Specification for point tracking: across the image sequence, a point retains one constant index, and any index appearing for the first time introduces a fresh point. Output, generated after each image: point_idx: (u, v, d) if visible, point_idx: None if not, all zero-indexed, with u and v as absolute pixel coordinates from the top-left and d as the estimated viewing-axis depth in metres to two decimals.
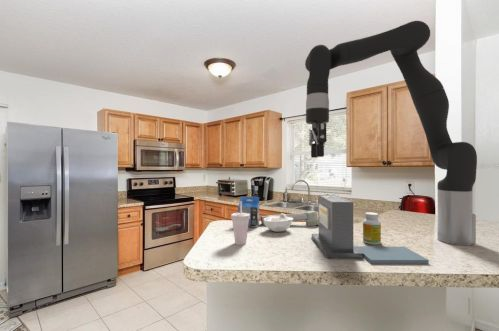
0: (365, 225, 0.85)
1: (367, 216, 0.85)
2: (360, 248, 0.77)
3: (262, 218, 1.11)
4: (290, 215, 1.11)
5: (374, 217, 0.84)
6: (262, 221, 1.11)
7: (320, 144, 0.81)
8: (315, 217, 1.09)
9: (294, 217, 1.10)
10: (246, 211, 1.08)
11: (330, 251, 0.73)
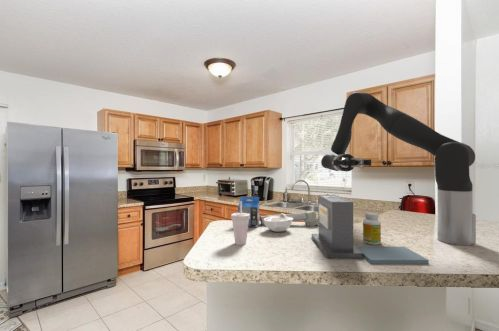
0: (365, 225, 0.85)
1: (367, 216, 0.85)
2: (360, 248, 0.77)
3: (261, 218, 1.11)
4: (289, 215, 1.11)
5: (374, 217, 0.84)
6: (261, 221, 1.11)
7: (340, 163, 1.01)
8: (314, 217, 1.09)
9: (293, 217, 1.10)
10: (246, 211, 1.08)
11: (330, 251, 0.73)
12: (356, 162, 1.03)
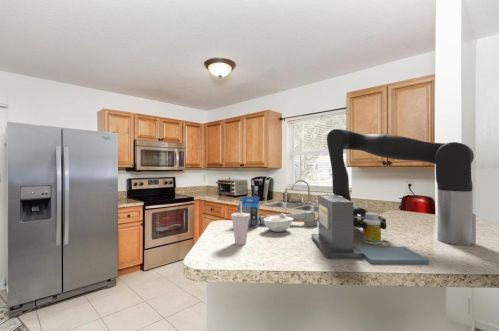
0: None
1: (367, 216, 0.85)
2: (360, 248, 0.77)
3: (260, 218, 1.11)
4: (288, 215, 1.11)
5: (374, 217, 0.84)
6: (260, 221, 1.11)
7: (357, 224, 0.87)
8: (313, 217, 1.10)
9: (292, 217, 1.10)
10: (246, 211, 1.08)
11: (330, 251, 0.73)
12: None
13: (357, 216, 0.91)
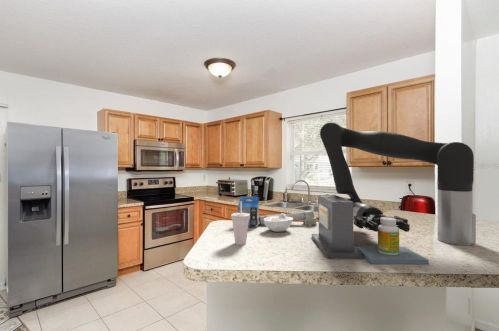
0: (381, 232, 0.72)
1: (383, 222, 0.72)
2: (360, 248, 0.77)
3: (260, 218, 1.11)
4: (288, 215, 1.11)
5: (392, 223, 0.71)
6: (260, 221, 1.10)
7: (366, 225, 0.75)
8: (312, 216, 1.11)
9: (292, 217, 1.11)
10: (246, 211, 1.08)
11: (330, 251, 0.73)
12: None
13: (368, 216, 0.78)
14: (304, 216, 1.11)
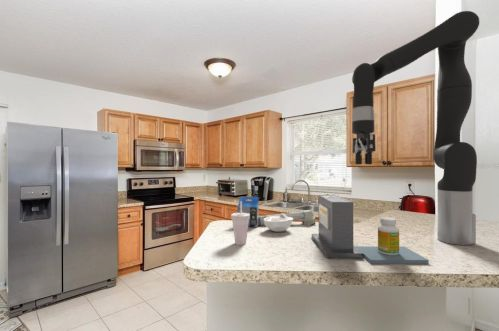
0: (381, 232, 0.72)
1: (383, 222, 0.72)
2: (360, 248, 0.77)
3: (260, 218, 1.11)
4: (287, 215, 1.12)
5: (392, 223, 0.71)
6: (260, 221, 1.10)
7: (369, 153, 0.89)
8: (311, 216, 1.12)
9: (291, 216, 1.11)
10: (245, 211, 1.08)
11: (330, 251, 0.73)
12: None
13: (372, 144, 0.91)
14: (303, 216, 1.12)
